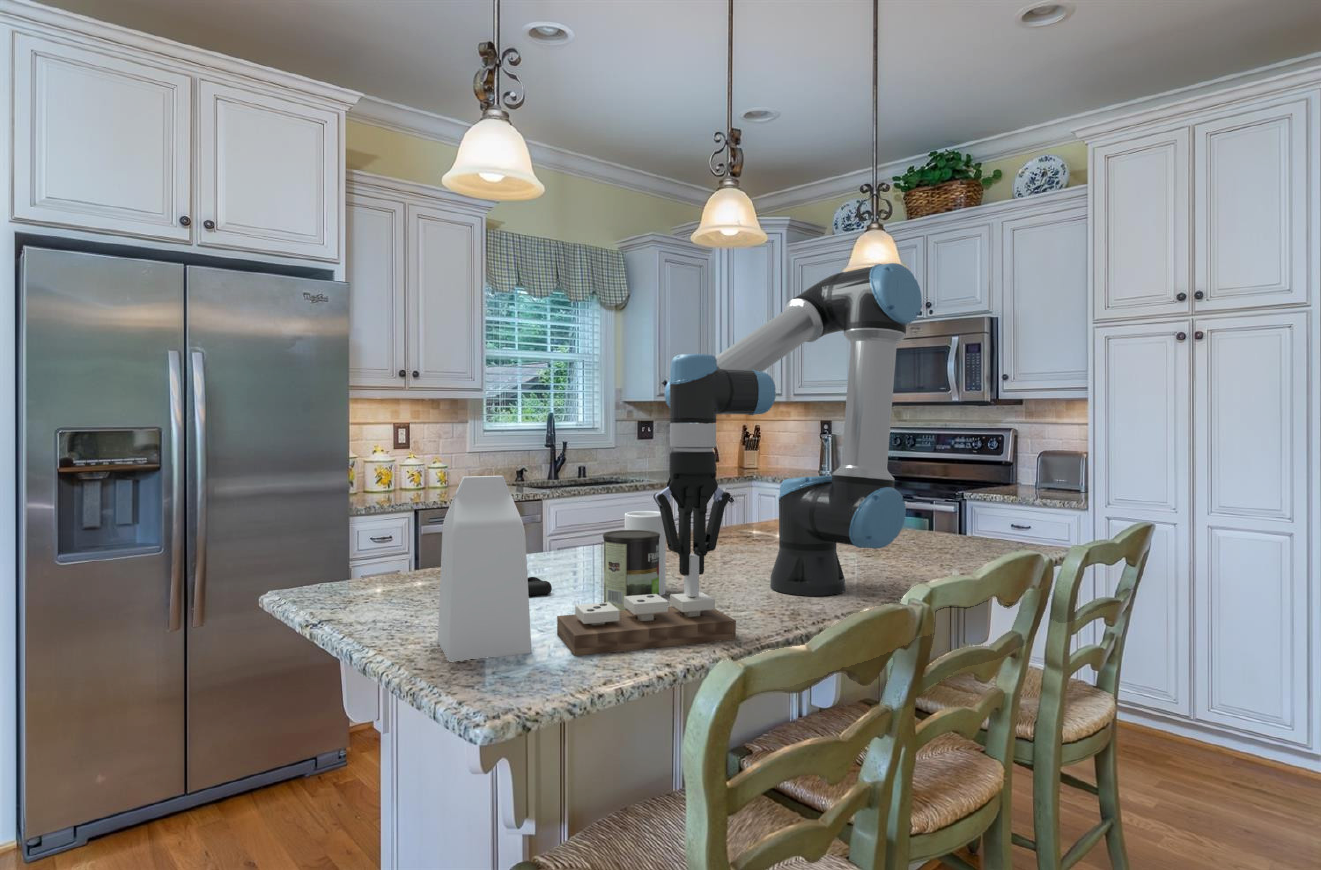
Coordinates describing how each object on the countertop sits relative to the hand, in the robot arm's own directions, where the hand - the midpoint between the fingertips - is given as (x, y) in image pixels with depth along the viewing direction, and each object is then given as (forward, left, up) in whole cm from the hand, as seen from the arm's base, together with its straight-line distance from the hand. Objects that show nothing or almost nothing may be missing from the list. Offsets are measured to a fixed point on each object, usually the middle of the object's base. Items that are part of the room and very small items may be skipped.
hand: (691, 594), depth 126 cm
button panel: (+8, 0, -6) cm, 10 cm away
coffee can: (+5, -17, -6) cm, 19 cm away
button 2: (+8, 0, -4) cm, 9 cm away
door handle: (+26, -40, -7) cm, 48 cm away
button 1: (0, 0, -4) cm, 4 cm away
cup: (-2, -30, -6) cm, 31 cm away
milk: (+33, -3, -6) cm, 34 cm away
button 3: (+16, 0, -5) cm, 16 cm away
